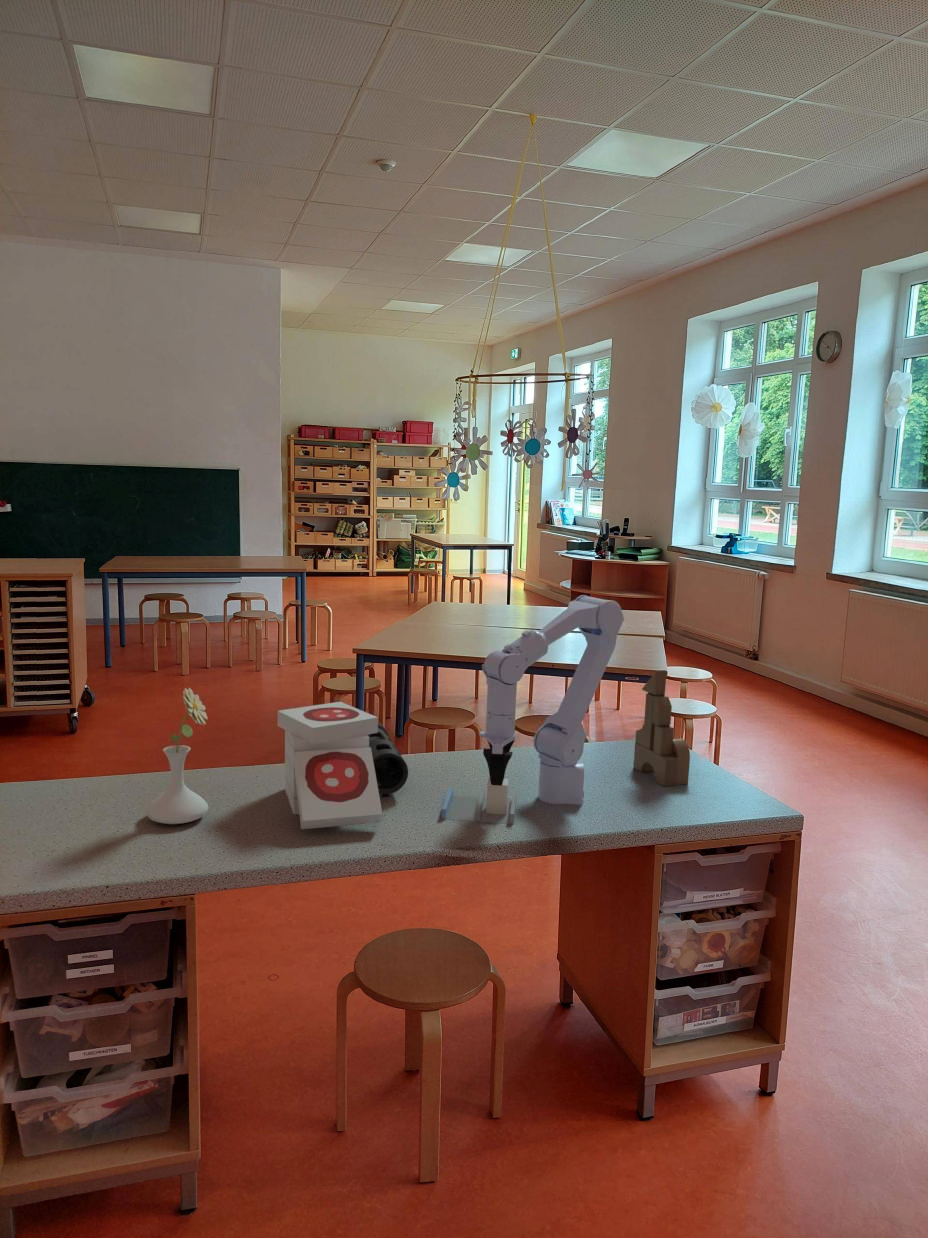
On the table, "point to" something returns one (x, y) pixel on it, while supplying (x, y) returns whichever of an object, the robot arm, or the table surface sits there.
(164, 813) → the flower in vase
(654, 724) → the wooden toy
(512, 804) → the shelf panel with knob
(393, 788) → the muzzle brake
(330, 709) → the pizza boxes
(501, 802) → the plug
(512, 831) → the table surface
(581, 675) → the robot arm
